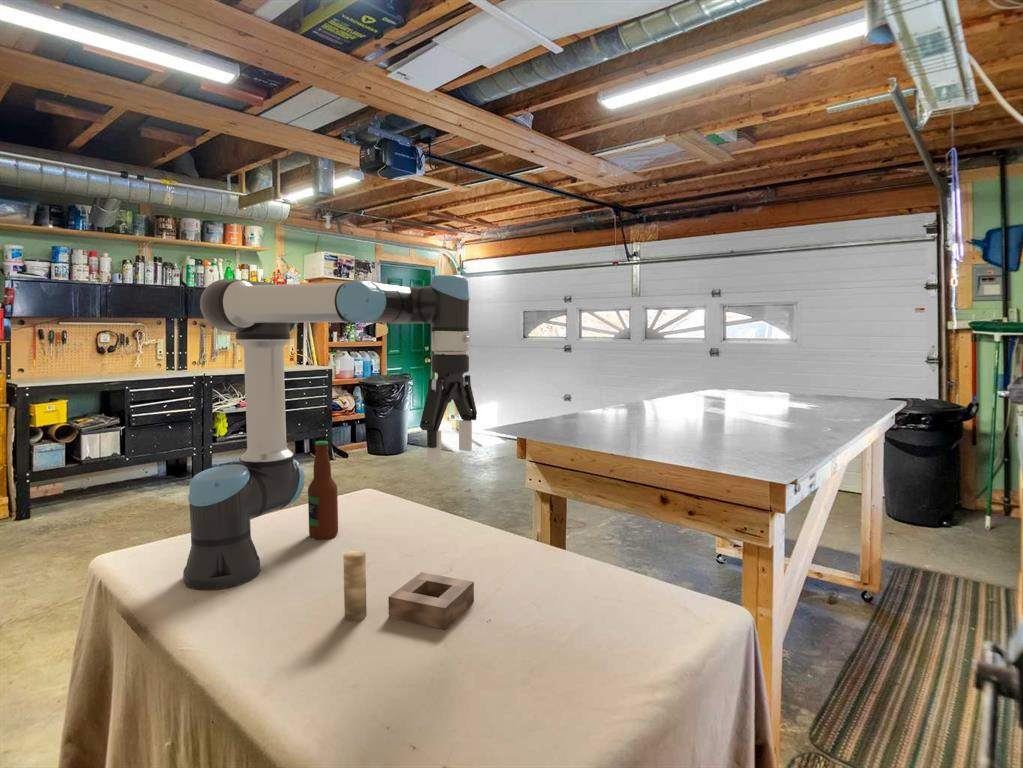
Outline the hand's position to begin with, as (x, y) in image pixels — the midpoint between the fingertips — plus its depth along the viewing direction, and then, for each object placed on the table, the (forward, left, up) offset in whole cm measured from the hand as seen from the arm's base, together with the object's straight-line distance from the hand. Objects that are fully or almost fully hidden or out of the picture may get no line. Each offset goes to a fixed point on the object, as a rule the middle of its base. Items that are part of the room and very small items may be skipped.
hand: (450, 456), depth 119 cm
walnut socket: (+1, -9, -28) cm, 30 cm away
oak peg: (-11, -17, -28) cm, 35 cm away
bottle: (-46, +16, -28) cm, 56 cm away
